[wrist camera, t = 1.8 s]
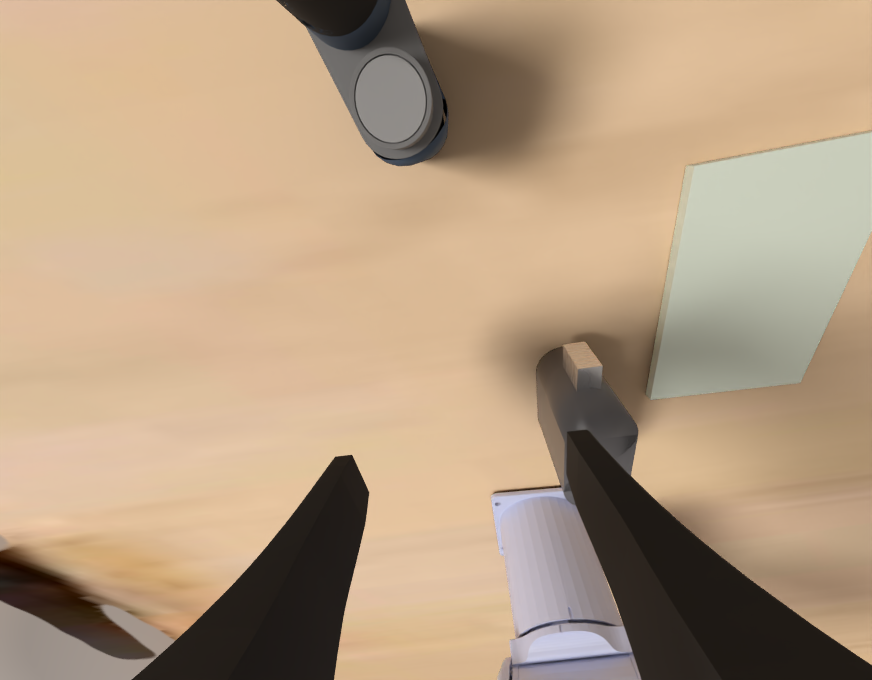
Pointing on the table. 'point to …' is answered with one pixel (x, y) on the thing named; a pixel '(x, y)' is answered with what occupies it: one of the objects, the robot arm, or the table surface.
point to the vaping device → (379, 74)
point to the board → (760, 264)
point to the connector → (581, 408)
